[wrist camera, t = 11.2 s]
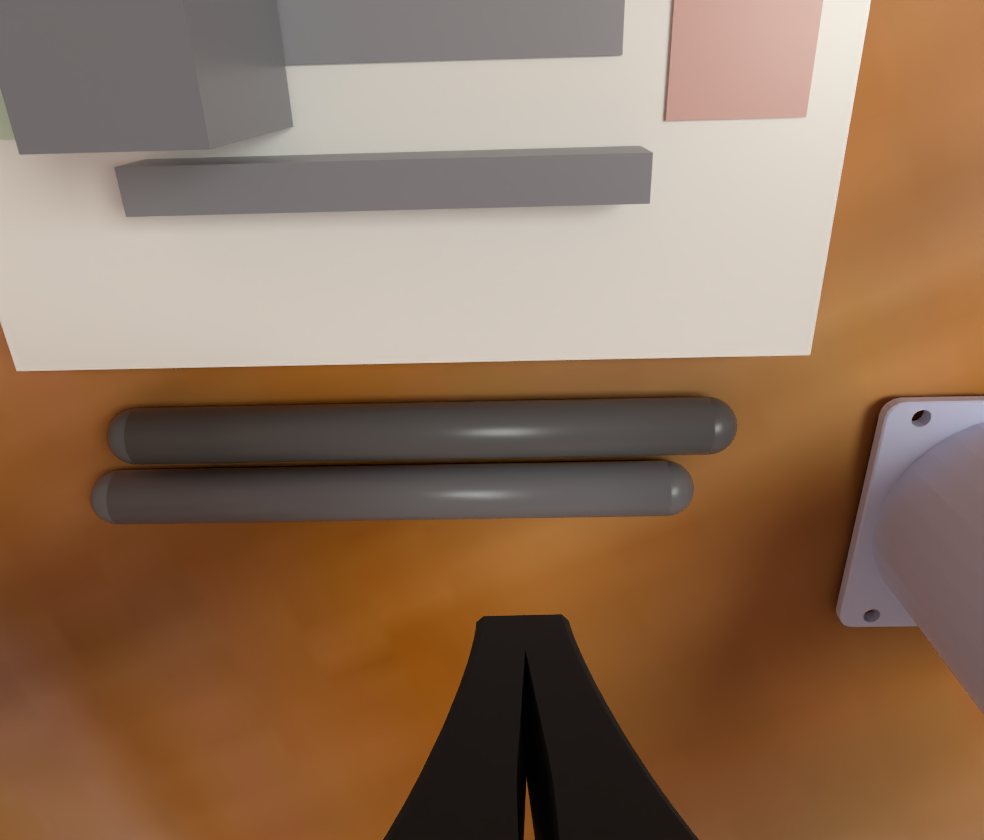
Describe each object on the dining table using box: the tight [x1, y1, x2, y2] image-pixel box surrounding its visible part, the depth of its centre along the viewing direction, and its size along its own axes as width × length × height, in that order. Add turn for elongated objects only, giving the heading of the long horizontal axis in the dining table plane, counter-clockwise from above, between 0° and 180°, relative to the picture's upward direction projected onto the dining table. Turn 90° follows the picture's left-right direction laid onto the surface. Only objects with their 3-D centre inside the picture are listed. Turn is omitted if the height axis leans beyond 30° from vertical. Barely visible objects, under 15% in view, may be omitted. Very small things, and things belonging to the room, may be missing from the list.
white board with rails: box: [0, 0, 871, 524], centre depth 16 cm, size 20×21×4 cm
